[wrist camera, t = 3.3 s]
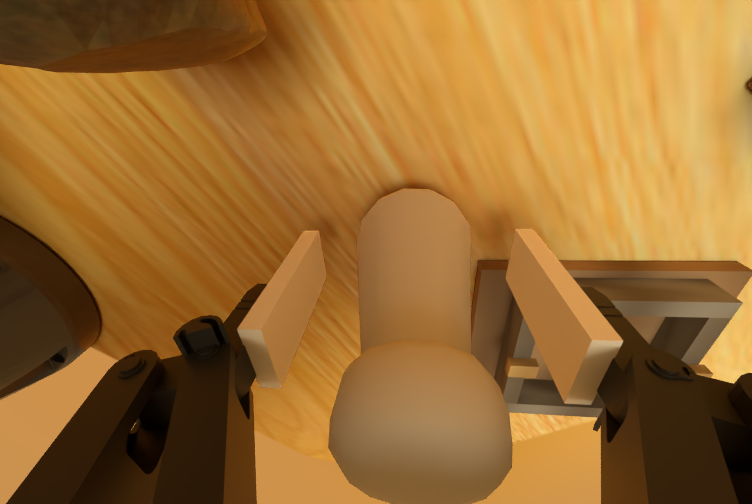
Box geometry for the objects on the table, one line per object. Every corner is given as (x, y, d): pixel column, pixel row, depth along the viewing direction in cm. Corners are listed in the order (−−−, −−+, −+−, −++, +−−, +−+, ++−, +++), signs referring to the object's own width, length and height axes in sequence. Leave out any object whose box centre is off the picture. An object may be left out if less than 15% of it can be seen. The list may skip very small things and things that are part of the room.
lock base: (462, 377, 24) (470, 422, 21) (478, 260, 18) (492, 298, 15) (655, 386, 22) (694, 436, 19) (736, 261, 17) (811, 303, 14)
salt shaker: (442, 275, 19) (489, 556, 8) (355, 253, 19) (277, 510, 8) (479, 189, 16) (640, 449, 5) (376, 162, 16) (297, 369, 5)
